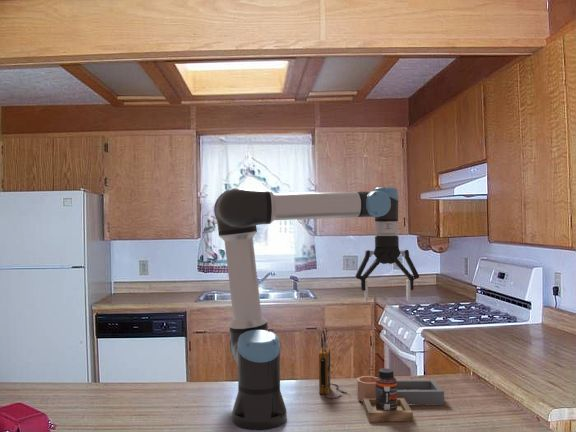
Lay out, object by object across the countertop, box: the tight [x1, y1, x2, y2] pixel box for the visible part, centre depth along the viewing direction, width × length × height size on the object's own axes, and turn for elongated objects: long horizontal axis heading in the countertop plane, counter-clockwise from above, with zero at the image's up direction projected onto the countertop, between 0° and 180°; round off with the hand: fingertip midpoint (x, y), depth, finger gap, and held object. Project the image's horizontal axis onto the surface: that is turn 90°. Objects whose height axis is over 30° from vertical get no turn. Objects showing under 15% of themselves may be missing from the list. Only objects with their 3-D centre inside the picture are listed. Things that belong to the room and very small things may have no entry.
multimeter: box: [318, 327, 351, 400], centre depth 163 cm, size 15×10×20 cm
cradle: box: [396, 379, 445, 406], centre depth 156 cm, size 16×11×4 cm
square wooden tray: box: [362, 398, 414, 423], centre depth 145 cm, size 12×12×2 cm
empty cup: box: [356, 375, 378, 403], centre depth 156 cm, size 7×7×6 cm
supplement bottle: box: [376, 368, 398, 411], centre depth 145 cm, size 6×6×11 cm
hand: (387, 300), depth 165 cm, fingers open, 13 cm apart
